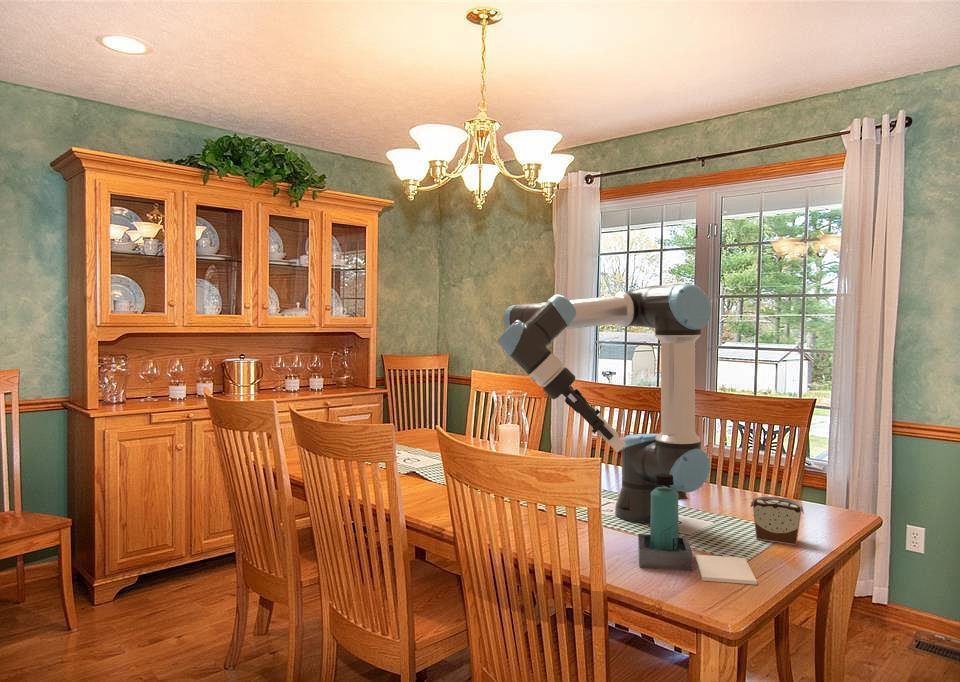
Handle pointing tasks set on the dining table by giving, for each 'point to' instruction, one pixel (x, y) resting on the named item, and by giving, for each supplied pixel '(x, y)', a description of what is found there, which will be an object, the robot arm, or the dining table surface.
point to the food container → (777, 519)
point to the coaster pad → (725, 569)
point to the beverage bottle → (664, 515)
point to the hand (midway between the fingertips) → (618, 442)
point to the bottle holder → (664, 555)
